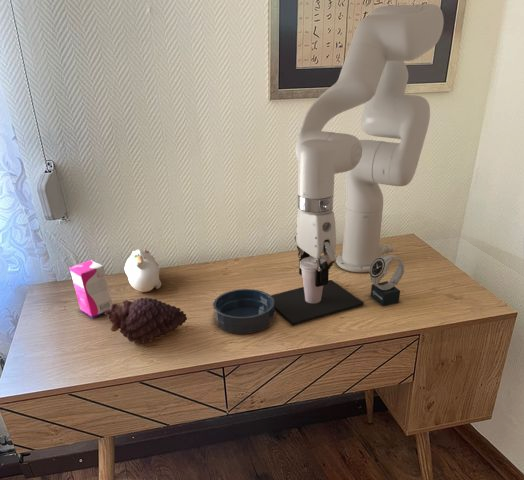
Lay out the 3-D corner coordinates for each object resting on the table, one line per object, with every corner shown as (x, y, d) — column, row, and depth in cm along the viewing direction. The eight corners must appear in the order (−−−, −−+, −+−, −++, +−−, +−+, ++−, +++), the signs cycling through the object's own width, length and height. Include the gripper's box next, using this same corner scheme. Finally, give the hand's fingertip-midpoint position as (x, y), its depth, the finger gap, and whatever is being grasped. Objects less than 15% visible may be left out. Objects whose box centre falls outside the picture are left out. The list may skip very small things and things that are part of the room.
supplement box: (101, 302, 128) (91, 258, 122) (114, 310, 125) (104, 265, 118) (79, 310, 125) (68, 266, 119) (92, 319, 121) (81, 274, 115)
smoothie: (325, 307, 121) (326, 250, 113) (297, 305, 122) (297, 249, 115) (328, 294, 126) (329, 239, 119) (301, 292, 128) (301, 238, 120)
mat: (330, 282, 134) (331, 279, 133) (363, 305, 123) (363, 302, 123) (264, 300, 127) (264, 297, 126) (292, 326, 116) (292, 322, 116)
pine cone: (176, 314, 122) (189, 288, 115) (185, 350, 118) (199, 326, 110) (98, 314, 114) (106, 286, 106) (105, 353, 109) (114, 327, 102)
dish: (258, 299, 127) (257, 284, 125) (285, 324, 117) (285, 308, 114) (205, 313, 122) (204, 297, 120) (229, 341, 112) (227, 324, 110)
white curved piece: (147, 262, 124) (137, 234, 135) (120, 282, 125) (112, 252, 136) (171, 287, 131) (159, 258, 142) (145, 306, 132) (136, 276, 143)
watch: (363, 297, 126) (367, 255, 120) (392, 291, 129) (397, 249, 122) (375, 308, 122) (380, 264, 116) (405, 301, 124) (411, 257, 118)
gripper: (353, 211, 106) (348, 290, 116) (309, 189, 119) (308, 262, 129) (321, 217, 104) (319, 298, 114) (280, 194, 117) (281, 269, 127)
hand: (313, 278), depth 121 cm, fingers closed on smoothie, 6 cm apart
